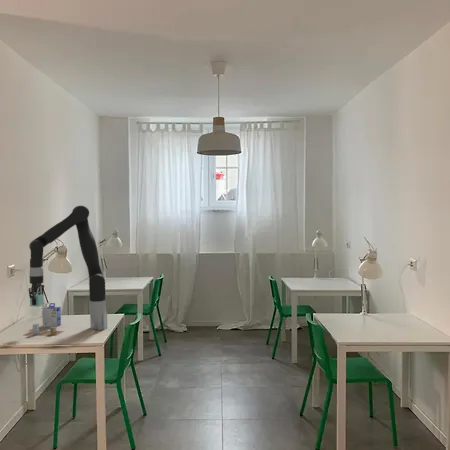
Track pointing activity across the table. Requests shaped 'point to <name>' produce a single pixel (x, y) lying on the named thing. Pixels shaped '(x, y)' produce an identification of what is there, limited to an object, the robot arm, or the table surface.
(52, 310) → the ink cartridge box
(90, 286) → the robot arm
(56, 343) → the table surface
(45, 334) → the board
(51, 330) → the tan block
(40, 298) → the aqua matte cube
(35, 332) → the post
